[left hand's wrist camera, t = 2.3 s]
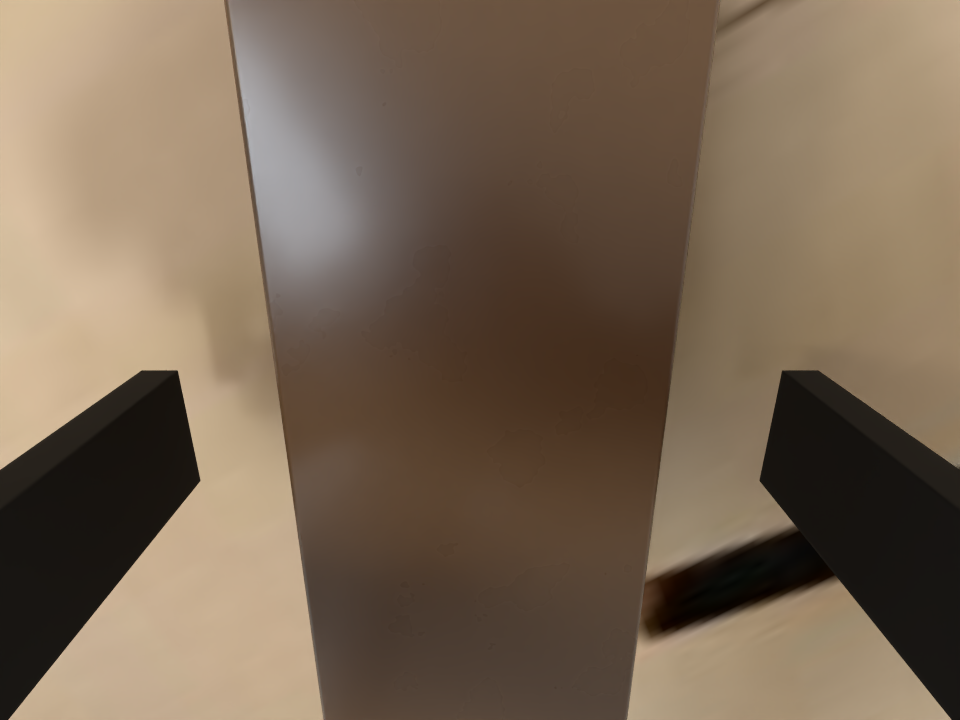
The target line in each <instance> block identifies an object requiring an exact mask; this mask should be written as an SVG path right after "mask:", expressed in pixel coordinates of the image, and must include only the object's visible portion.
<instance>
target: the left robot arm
mask: <svg viewBox="0 0 960 720" xmlns="http://www.w3.org/2000/svg"><path fill="white" fill-rule="evenodd" d="M199 482H200V476H199V471H198V467H197V462H196V457H195V452H194V447H193V442H192V438H191V433H190V428H189V423H188V418H187V413H186V409H185V404H184V399H183V394H182V389H181V384H180V379H179V375H178V371H140V372H139V373H138V374H136V375H135V376H133V377H132V378H131V379H129V380H128V381H126V382H125V383H123V384H122V385H121V386H119V387H118V388H116V389H115V390H113V391H112V392H111V393H109V394H108V395H106V396H105V397H103V398H102V399H101V400H99V401H98V402H96V403H95V404H93V405H92V406H91V407H89V408H88V409H86V410H85V411H84V412H82V413H81V414H79V415H78V416H76V417H75V418H74V419H72V420H71V421H69V422H68V423H66V424H65V425H64V426H62V427H61V428H59V429H58V430H56V431H55V432H54V433H52V434H51V435H49V436H48V437H46V438H45V439H44V440H42V441H41V442H39V443H38V444H37V445H35V446H34V447H32V448H31V449H29V450H28V451H27V452H25V453H24V454H22V455H21V456H19V457H18V458H17V459H15V460H14V461H12V462H11V463H9V464H8V465H7V466H5V467H4V468H2V469H1V470H0V720H8V719H9V718H10V717H11V716H12V714H13V713H14V712H15V711H16V709H17V708H18V707H19V706H20V704H21V703H22V702H23V701H24V699H25V698H26V697H27V696H28V694H29V693H30V692H31V691H32V689H33V688H34V687H35V686H36V685H37V683H38V682H39V681H40V680H41V678H42V677H43V676H44V675H45V673H46V672H47V671H48V670H49V668H50V667H51V666H52V665H53V663H54V662H55V661H56V660H57V658H58V657H59V656H60V655H61V653H62V652H63V651H64V650H65V648H66V647H67V646H68V645H69V643H70V642H71V641H72V640H73V639H74V637H75V636H76V635H77V634H78V632H79V631H80V630H81V629H82V627H83V626H84V625H85V624H86V622H87V621H88V620H89V619H90V617H91V616H92V615H93V614H94V612H95V611H96V610H97V609H98V607H99V606H100V605H101V604H102V602H103V601H104V600H105V599H106V597H107V596H108V595H109V594H110V593H111V591H112V590H113V589H114V588H115V586H116V585H117V584H118V583H119V581H120V580H121V579H122V578H123V576H124V575H125V574H126V573H127V571H128V570H129V569H130V568H131V566H132V565H133V564H134V563H135V561H136V560H137V559H138V558H139V556H140V555H141V554H142V553H143V551H144V550H145V549H146V548H147V547H148V545H149V544H150V543H151V542H152V540H153V539H154V538H155V537H156V535H157V534H158V533H159V532H160V530H161V529H162V528H163V527H164V525H165V524H166V523H167V522H168V520H169V519H170V518H171V517H172V515H173V514H174V513H175V512H176V510H177V509H178V508H179V507H180V505H181V504H182V503H183V502H184V501H185V499H186V498H187V497H188V496H189V494H190V493H191V492H192V491H193V489H194V488H195V487H196V486H197V484H198V483H199ZM760 482H761V483H762V484H763V486H764V487H765V488H766V489H767V491H768V492H769V493H770V494H771V496H772V497H773V498H774V499H775V501H776V502H777V503H778V504H779V506H780V507H781V508H782V509H783V510H784V512H785V513H786V514H787V515H788V517H789V518H790V519H791V520H792V522H793V523H794V524H795V525H796V527H797V528H798V529H799V530H800V532H801V533H802V534H803V535H804V537H805V538H806V539H807V540H808V542H809V543H810V544H811V545H812V547H813V548H814V549H815V550H816V552H817V553H818V554H819V555H820V556H821V558H822V559H823V560H824V561H825V563H826V564H827V565H828V566H829V568H830V569H831V570H832V571H833V573H834V574H835V575H836V576H837V578H838V579H839V580H840V581H841V583H842V584H843V585H844V586H845V588H846V589H847V590H848V591H849V593H850V594H851V595H852V596H853V598H854V599H855V600H856V601H857V602H858V604H859V605H860V606H861V607H862V609H863V610H864V611H865V612H866V614H867V615H868V616H869V617H870V619H871V620H872V621H873V622H874V624H875V625H876V626H877V627H878V629H879V630H880V631H881V632H882V634H883V635H884V636H885V637H886V639H887V640H888V641H889V642H890V644H891V645H892V646H893V647H894V648H895V650H896V651H897V652H898V653H899V655H900V656H901V657H902V658H903V660H904V661H905V662H906V663H907V665H908V666H909V667H910V668H911V670H912V671H913V672H914V673H915V675H916V676H917V677H918V678H919V680H920V681H921V682H922V683H923V685H924V686H925V687H926V688H927V690H928V691H929V692H930V693H931V695H932V696H933V697H934V698H935V699H936V701H937V702H938V703H939V704H940V706H941V707H942V708H943V709H944V711H945V712H946V713H947V714H948V716H949V717H950V718H951V719H952V720H960V470H959V469H958V468H956V467H955V466H953V465H952V464H950V463H949V462H948V461H946V460H945V459H943V458H942V457H941V456H939V455H938V454H936V453H935V452H933V451H932V450H931V449H929V448H928V447H926V446H925V445H923V444H922V443H921V442H919V441H918V440H916V439H915V438H913V437H912V436H911V435H909V434H908V433H906V432H905V431H904V430H902V429H901V428H899V427H898V426H896V425H895V424H894V423H892V422H891V421H889V420H888V419H886V418H885V417H884V416H882V415H881V414H879V413H878V412H876V411H875V410H874V409H872V408H871V407H869V406H868V405H866V404H865V403H864V402H862V401H861V400H859V399H858V398H857V397H855V396H854V395H852V394H851V393H849V392H848V391H847V390H845V389H844V388H842V387H841V386H839V385H838V384H837V383H835V382H834V381H832V380H831V379H829V378H828V377H827V376H825V375H824V374H822V373H821V372H819V371H782V374H781V379H780V384H779V389H778V394H777V399H776V404H775V408H774V413H773V418H772V423H771V428H770V433H769V437H768V442H767V447H766V452H765V457H764V462H763V466H762V471H761V476H760Z"/></svg>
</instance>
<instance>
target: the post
mask: <svg viewBox="0 0 960 720" xmlns="http://www.w3.org/2000/svg"><path fill="white" fill-rule="evenodd" d="M224 3H225V10H226V17H227V25H228V32H229V39H230V46H231V54H232V61H233V68H234V75H235V83H236V90H237V97H238V104H239V112H240V119H241V126H242V133H243V140H244V148H245V155H246V162H247V169H248V177H249V184H250V191H251V198H252V206H253V213H254V220H255V227H256V235H257V242H258V249H259V256H260V264H261V271H262V278H263V285H264V292H265V300H266V307H267V314H268V321H269V329H270V336H271V343H272V350H273V358H274V365H275V372H276V379H277V387H278V394H279V401H280V408H281V415H282V423H283V430H284V437H285V444H286V452H287V459H288V466H289V473H290V481H291V488H292V495H293V502H294V510H295V517H296V524H297V531H298V538H299V546H300V553H301V560H302V567H303V575H304V582H305V589H306V596H307V604H308V611H309V618H310V625H311V633H312V640H313V647H314V654H315V661H316V669H317V676H318V683H319V690H320V698H321V705H322V712H323V719H324V720H627V715H628V708H629V700H630V692H631V685H632V677H633V669H634V661H635V654H636V646H637V638H638V631H639V623H640V615H641V607H642V600H643V592H644V584H645V577H646V569H647V561H648V553H649V546H650V538H651V530H652V523H653V515H654V507H655V499H656V492H657V484H658V476H659V469H660V461H661V453H662V445H663V438H664V430H665V422H666V415H667V407H668V399H669V391H670V384H671V376H672V368H673V361H674V353H675V345H676V337H677V330H678V322H679V314H680V307H681V299H682V291H683V283H684V276H685V268H686V260H687V253H688V245H689V237H690V229H691V222H692V214H693V206H694V199H695V191H696V183H697V175H698V168H699V160H700V152H701V145H702V137H703V129H704V121H705V114H706V106H707V98H708V91H709V83H710V75H711V67H712V60H713V52H714V44H715V37H716V29H717V21H718V14H719V6H720V0H224Z"/></svg>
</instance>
